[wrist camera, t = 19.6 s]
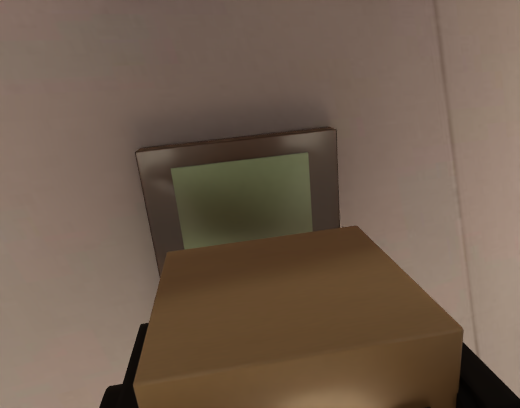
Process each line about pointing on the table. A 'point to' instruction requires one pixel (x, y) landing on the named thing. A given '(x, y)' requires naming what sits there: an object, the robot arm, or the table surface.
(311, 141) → the word board
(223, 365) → the tile
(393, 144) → the table surface
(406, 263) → the table surface
